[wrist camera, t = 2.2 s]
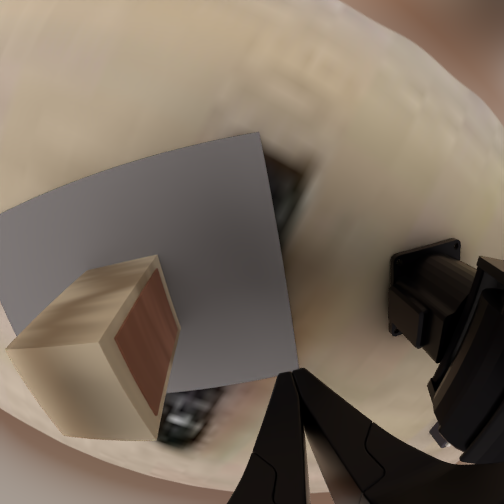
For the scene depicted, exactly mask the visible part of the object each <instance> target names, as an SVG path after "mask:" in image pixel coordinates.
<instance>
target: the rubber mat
mask: <svg viewBox="0 0 504 504" xmlns="http://www.w3.org/2000/svg"><path fill="white" fill-rule="evenodd" d="M157 254H158V258H159V261H160V265H161V268H162V271H163V275H164V278H165V281H166V284H167V288H168V291H169V294H170V297H171V300H172V303H173V306H174V309H175V312H176V315H177V318H178V321H179V323H180V326H181V330H180V334H179V338H178V342H177V347H176V351H175V355H174V359H173V364H172V368H171V373H170V377H169V382H168V386H167V391H166V393H172V392H182V391H190V390H199V389H206V388H213V387H220V386H226V385H232V384H238V383H244V382H249V381H255V380H260V379H265V378H270V377H275V376H278V374H279V373H283V372H287V371H291V372H292V371H293V370H296V369H299V365H298V358H297V351H296V344H295V337H294V330H293V324H292V317H291V310H290V304H289V297H288V291H287V285H286V278H285V272H284V266H283V260H282V254H281V248H280V242H279V236H278V231H277V225H276V219H275V214H274V208H273V202H272V197H271V191H270V186H269V181H268V175H267V170H266V165H265V159H264V154H263V149H262V144H261V139H260V134H259V132H256V133H250V134H244V135H239V136H234V137H229V138H224V139H219V140H214V141H210V142H205V143H201V144H196V145H192V146H188V147H184V148H180V149H176V150H172V151H168V152H164V153H161V154H157V155H153V156H150V157H146V158H143V159H140V160H136V161H133V162H130V163H126V164H123V165H120V166H117V167H114V168H111V169H108V170H105V171H102V172H99V173H96V174H93V175H91V176H88V177H85V178H82V179H80V180H77V181H74V182H72V183H69V184H66V185H64V186H61V187H59V188H56V189H54V190H51V191H49V192H47V193H44V194H42V195H40V196H37V197H35V198H33V199H31V200H28V201H26V202H24V203H22V204H20V205H17V206H15V207H13V208H11V209H9V210H7V211H5V212H3V213H1V214H0V301H1V304H2V306H3V308H4V311H5V313H6V315H7V317H8V319H9V322H10V324H11V326H12V328H13V330H14V332H15V334H16V336H18V335H19V334H20V333H21V332H22V331H23V330H24V329H25V328H26V327H27V326H28V325H29V324H30V323H31V322H32V321H33V320H34V319H35V318H36V317H37V316H38V315H39V314H40V313H41V312H42V311H43V310H44V309H45V308H46V307H47V306H48V305H49V304H50V303H51V302H53V301H54V300H55V299H56V298H57V297H58V296H59V295H60V294H61V293H62V292H63V291H64V290H65V289H67V288H68V287H69V286H70V285H71V284H72V283H73V282H74V281H75V280H77V279H78V278H79V277H80V276H81V275H82V274H83V273H85V272H86V271H87V270H91V269H95V268H100V267H104V266H108V265H113V264H117V263H121V262H126V261H130V260H135V259H139V258H143V257H148V256H152V255H157Z"/></svg>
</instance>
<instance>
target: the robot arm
mask: <svg viewBox="0 0 504 504" xmlns="http://www.w3.org/2000/svg"><path fill="white" fill-rule="evenodd" d="M454 245H455V247H454ZM460 248H461V244H460V241H459V240H457V239H455V238H453V239H449V240H446V241H442V242H438V243H435V244H431V245H427V246H424V247H420V248H416V249H412V250H409V251H405V252H401V253H397V254H395V255H393V256H392V258H391V286H390V288H389V311H388V318H389V320H390V323H389V332H390V333H391V334H392V335H393V336H398V335H401V334H403V335H404V336H405V337H406V338H407V339H408V340H409V341H410V342H411V343H412V344H413V346H414V347H416V348H417V349H419V348H421V347H422V348H423V349H424V350H425V351H426V353H427V354H428V355H429V356H430V357H431V358H432V359H433V360H434V361H435V362H436V363H440V364H439V366H438V368H437V370H436V372H435V374H434V376H433V378H431V379H430V381H429V383H428V385H427V387H428V390H429V393H430V397H431V400H432V403H433V408H434V413H435V416H436V418H437V420H438V423H439V428H438V431H439V433H440V435H441V436H442V437H443V438H444V439H445V440H446V441H447V442H448V443H449V444H451V445H452V446H453V447H455V448H456V449H458V450H460V451H462V452H464V453H463V454H462V455H461V456H460V458H459V459H460V461H462V462H467V463H474V464H472V465H457V464H451V463H447V462H444V461H441V460H439V459H437V458H434V457H432V456H430V455H428V454H426V453H424V452H422V451H420V450H418V449H416V448H414V447H412V446H410V445H408V444H406V443H405V442H403V441H401V440H399V439H397V438H396V437H394V436H392V435H391V434H389V433H388V432H387V431H385V430H384V429H382V428H381V427H379V426H378V425H377V424H375V423H374V422H373V423H372V421H371V420H370V419H369V418H367V417H366V416H365V415H363V414H362V413H361V412H359V411H358V410H357V409H356V408H354V407H353V406H352V405H350V404H349V403H348V402H346V401H345V400H344V399H343V398H341V397H340V396H339V395H338V394H336V393H335V392H334V391H333V390H331V389H330V388H329V387H328V386H326V385H325V384H324V383H323V382H321V381H320V380H319V379H318V378H316V377H315V376H314V375H313V374H311V373H310V372H309V371H308V370H307V369H305V368H300V369H296V370H293V371H292V372H291V371H287V372H283V373H279V374H278V376H277V379H276V383H275V386H274V389H273V392H272V395H271V398H270V401H269V405H268V408H267V411H266V414H265V417H264V420H263V423H262V426H261V428H260V431H259V434H258V437H257V440H256V443H255V446H254V448H253V453H252V454H251V456H250V459H249V462H248V464H247V467H246V469H245V471H244V474H243V476H242V478H241V480H240V482H239V484H238V486H237V487H236V489H235V491H234V493H233V494H232V496H231V498H230V499H229V501H228V503H227V504H310V491H309V477H308V465H307V453H306V442H305V433H306V436H307V439H308V441H309V444H310V446H311V448H312V451H313V453H314V456H315V458H316V460H317V463H318V465H319V468H320V470H321V472H322V475H323V477H324V480H325V482H326V484H327V487H328V489H329V491H330V493H331V496H332V498H333V501H334V503H335V504H504V260H499V259H494V258H489V257H483V256H479V258H478V261H477V266H478V267H477V269H475V268H473V267H471V266H469V265H468V264H466V263H464V262H462V261H460ZM398 259H400V261H399V263H398V264H396V263H397V260H398ZM396 328H397V329H396ZM395 329H396V330H395ZM304 430H305V433H304Z"/></svg>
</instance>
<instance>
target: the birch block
mask: <svg viewBox="0 0 504 504" xmlns="http://www.w3.org/2000/svg"><path fill="white" fill-rule="evenodd" d="M180 330H181V326H180V323H179V321H178V318H177V315H176V312H175V309H174V306H173V303H172V300H171V297H170V294H169V291H168V288H167V284H166V281H165V278H164V275H163V271H162V268H161V265H160V261H159V258H158V254H157V255H152V256H148V257H143V258H139V259H135V260H130V261H126V262H121V263H117V264H113V265H108V266H104V267H100V268H95V269H91V270H87V271H86V272H85V273H83V274H82V275H81V276H80V277H79V278H78V279H77V280H75V281H74V282H73V283H72V284H71V285H70V286H69V287H68V288H67V289H65V290H64V291H63V292H62V293H61V294H60V295H59V296H58V297H57V298H56V299H55V300H54V301H53V302H51V303H50V304H49V305H48V306H47V307H46V308H45V309H44V310H43V311H42V312H41V313H40V314H39V315H38V316H37V317H36V318H35V319H34V320H33V321H32V322H31V323H30V324H29V325H28V326H27V327H26V328H25V329H24V330H23V331H22V332H21V333H20V334H19V335H18V336H17V337H16V338H15V339H14V340H13V341H12V342H11V343H10V344H9V346H8V347H7V348H6V349H5V351H6V352H7V354H8V356H9V358H10V360H11V361H12V363H13V365H14V366H15V368H16V370H17V371H18V373H19V375H20V376H21V378H22V380H23V381H24V383H25V384H26V386H27V387H28V389H29V390H30V392H31V393H32V395H33V396H34V398H35V399H36V400H37V402H38V403H39V405H40V406H41V407H42V409H43V410H44V411H45V413H46V414H47V415H48V417H49V418H50V419H51V421H52V422H53V423H54V424H55V426H56V427H57V428H58V429H59V431H60V432H61V433H62V434H63V435H64V436H69V437H78V438H88V439H101V440H120V441H157V435H158V430H159V425H160V420H161V415H162V410H163V405H164V400H165V395H166V391H167V386H168V382H169V377H170V373H171V368H172V364H173V359H174V355H175V351H176V347H177V342H178V338H179V334H180Z"/></svg>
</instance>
